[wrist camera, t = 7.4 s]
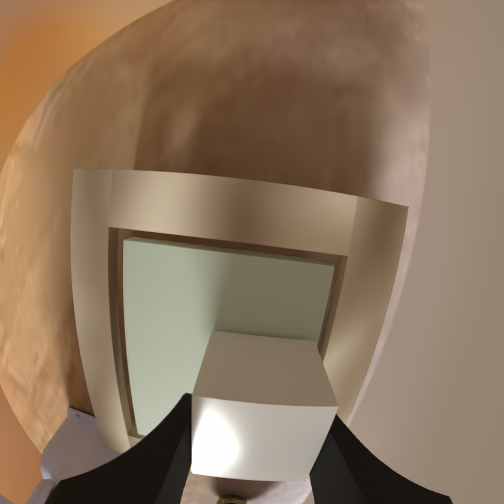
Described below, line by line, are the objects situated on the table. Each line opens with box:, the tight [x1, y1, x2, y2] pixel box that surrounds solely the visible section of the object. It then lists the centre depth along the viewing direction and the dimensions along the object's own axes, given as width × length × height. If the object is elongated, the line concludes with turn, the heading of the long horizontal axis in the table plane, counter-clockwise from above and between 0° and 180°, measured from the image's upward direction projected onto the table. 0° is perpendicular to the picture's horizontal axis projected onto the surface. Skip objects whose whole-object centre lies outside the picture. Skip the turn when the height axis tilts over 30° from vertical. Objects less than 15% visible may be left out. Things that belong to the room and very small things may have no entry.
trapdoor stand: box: [70, 169, 408, 479], centre depth 16 cm, size 15×18×7 cm
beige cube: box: [192, 330, 339, 481], centre depth 10 cm, size 4×4×4 cm
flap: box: [123, 236, 335, 436], centre depth 15 cm, size 10×12×3 cm
